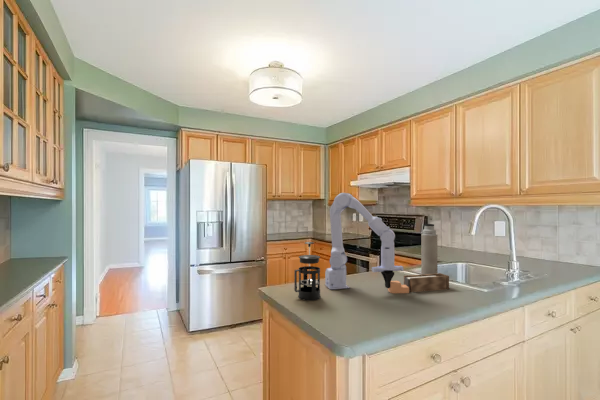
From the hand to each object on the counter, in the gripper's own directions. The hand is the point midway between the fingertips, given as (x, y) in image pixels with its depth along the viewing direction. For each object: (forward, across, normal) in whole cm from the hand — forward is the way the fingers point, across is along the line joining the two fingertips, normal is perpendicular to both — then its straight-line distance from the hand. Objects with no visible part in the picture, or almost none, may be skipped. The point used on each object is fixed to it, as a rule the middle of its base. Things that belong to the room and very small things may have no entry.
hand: (387, 287), depth 135 cm
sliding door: (+1, +17, 0) cm, 17 cm away
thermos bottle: (+2, +37, +21) cm, 42 cm away
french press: (+2, -36, +1) cm, 36 cm away
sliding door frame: (+2, +20, 0) cm, 20 cm away
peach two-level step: (+2, +5, -1) cm, 5 cm away
